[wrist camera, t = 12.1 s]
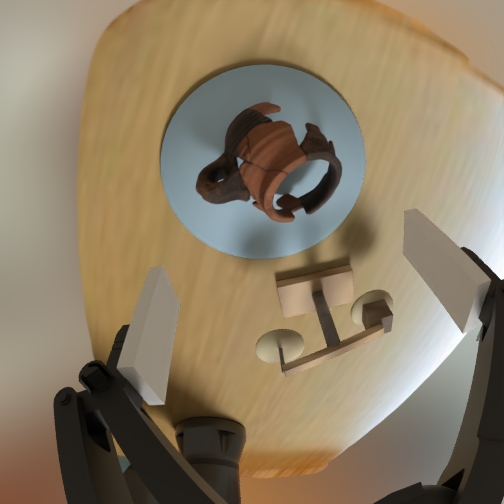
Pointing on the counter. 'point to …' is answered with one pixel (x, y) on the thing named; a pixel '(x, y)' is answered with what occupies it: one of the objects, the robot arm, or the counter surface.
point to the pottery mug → (268, 164)
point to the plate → (213, 145)
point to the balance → (324, 318)
